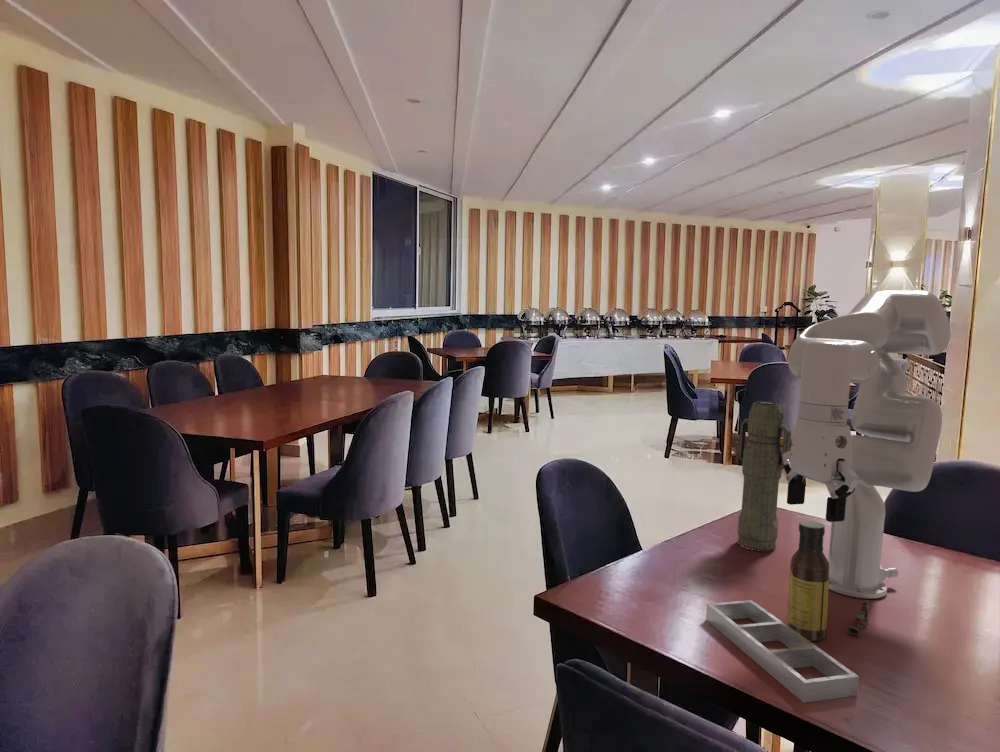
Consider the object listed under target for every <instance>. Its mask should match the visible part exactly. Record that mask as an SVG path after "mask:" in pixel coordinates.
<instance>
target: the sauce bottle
mask: <svg viewBox="0 0 1000 752" xmlns="http://www.w3.org/2000/svg"><path fill="white" fill-rule="evenodd" d="M825 531H826V527H825V525H824V524H823V523H821V522H818V521H813V520H803V521H800V522H799V524H798V532H799V540H798V541H799V542H798V549H797V550H796V551H795V553H794V554H793V555H792V556H791V561H790V565H789V579H788V580H789V581H788V598H787V626H789V627H790V628H792V629H793V630H794V631H796V632H797V633H799V634H800V635H801V636H803V637H804V638H806V639H807V640H808V641H810V642H817V641H822V640H823V639H824V638H825V636H826V629H827V624H828V622H827V621H828V607H829V605H828V603H829V590H830V589H829V562H828V559H827V558H826V556H825V554H824V547H823V546H824V535H825Z"/></svg>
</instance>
